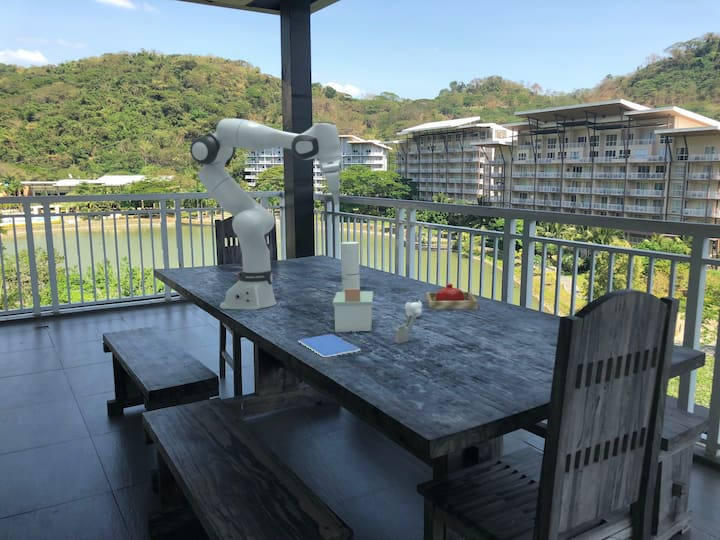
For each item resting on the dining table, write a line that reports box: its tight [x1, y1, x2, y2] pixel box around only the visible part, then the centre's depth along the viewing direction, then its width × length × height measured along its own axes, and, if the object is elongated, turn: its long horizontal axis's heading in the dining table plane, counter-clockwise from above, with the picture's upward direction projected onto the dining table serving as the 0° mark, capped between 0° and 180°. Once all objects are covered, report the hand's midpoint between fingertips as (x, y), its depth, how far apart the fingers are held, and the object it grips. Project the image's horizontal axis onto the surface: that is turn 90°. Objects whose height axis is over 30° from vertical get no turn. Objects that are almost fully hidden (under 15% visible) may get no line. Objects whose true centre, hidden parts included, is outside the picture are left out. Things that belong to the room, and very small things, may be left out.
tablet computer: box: [297, 333, 362, 358], centre depth 167 cm, size 19×13×1 cm, turn 30°
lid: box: [332, 287, 374, 307], centre depth 189 cm, size 13×17×6 cm
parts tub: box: [333, 305, 373, 333], centre depth 190 cm, size 12×16×9 cm
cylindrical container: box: [340, 241, 361, 292], centre depth 221 cm, size 7×7×25 cm
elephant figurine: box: [404, 300, 423, 318], centre depth 200 cm, size 7×8×6 cm
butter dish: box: [434, 283, 469, 301], centre depth 219 cm, size 12×12×8 cm
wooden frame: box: [425, 291, 479, 310], centre depth 219 cm, size 18×17×3 cm
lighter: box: [394, 315, 417, 345], centre depth 171 cm, size 7×2×8 cm, turn 123°
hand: (337, 202), depth 208 cm, fingers open, 8 cm apart
